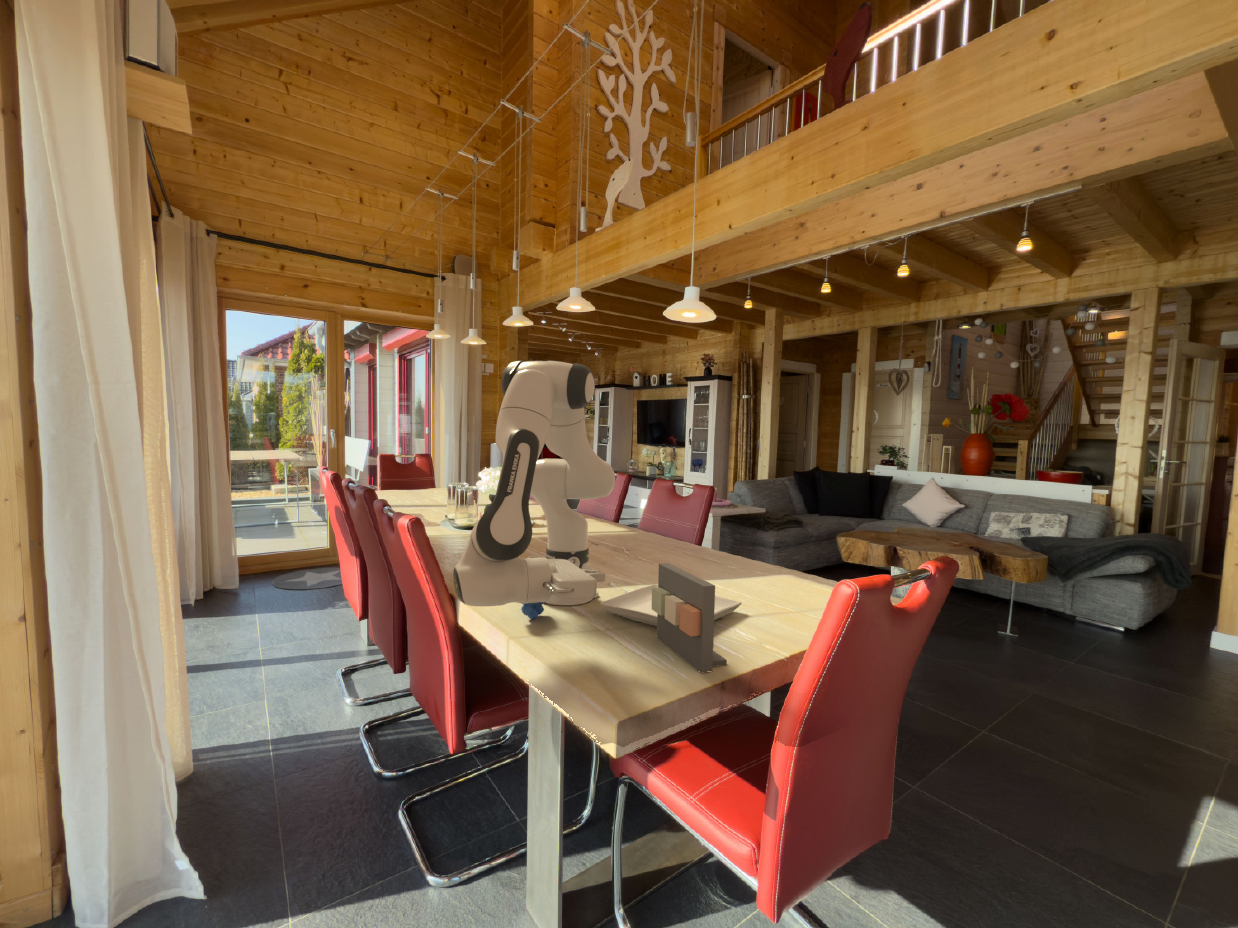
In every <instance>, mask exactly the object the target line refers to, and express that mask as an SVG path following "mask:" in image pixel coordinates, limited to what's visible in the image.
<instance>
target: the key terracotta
mask: <svg viewBox="0 0 1238 928" xmlns="http://www.w3.org/2000/svg"><path fill="white" fill-rule="evenodd" d="M679 629H681V630H682V631H683V632H685V633H686V634H688V635H689V636H699V635H701V610H700V609H699V608H697V607H695V606H694V605H692V604H684V605H680V615H679Z"/></svg>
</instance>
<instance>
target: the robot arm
mask: <svg viewBox="0 0 1238 928" xmlns="http://www.w3.org/2000/svg"><path fill="white" fill-rule="evenodd" d="M500 381H501V383H500V384H501V385H500V386H501V392H502V395H503V396H504V397H503V399H502V402H501V406H500V408H499V413H498V416H497V421H496V426H495V427H496V428H495V444H496V447H497V448H498V449H499V450H500V452H501V453H502V464H501V469H500V474H499V477H498V482H497V487H496V490H495V495H494V498H493V501H492V502H491V504H490V506H489V507H488V508H487V509H486V511H484V513H483V514H482V516H481V517H480V518H479V520H478V521H477V522H476V523H475V525H474V526H473V528H472V529H471V531H470V532H471V533H470V537H469V538H468V539H469V540H468V541H467V542H468V543H467V545H466V547H465V549H464V552H463V554H462V556H461V557H460V559H459V561H458V562H457V564H456V565H455V566H454V568H453V570H452V571H453V573H452V577H453V584H454V589H455V594H456V597H457V598H458V599H459V601H460V602H461V603H463V605H466V606H469V607H498V606H499V607H500V606H504V605H507V604H512V603H517V604H522V605H523V604H525V603H538V602H545V603H544V604H549V605H554V606H555V605H556V606H574V605H575V606H576V605H577V606H578V605H582V604H586V603H588V602H591V601H592V600H593V599H594V598H597V597H599V594H600V593H599V591H597V583H599V582H600V583H603V582H605V581H606V574H605V572H603V571H601V570H599V569H597V570H595V569H594V568H593V566H592V565H591V564H590V563H589V561H590V559H589V557H590V549H589V547H588V535H589V534H588V533H589V532H588V531H589V530H588V529H589V528H588V527H589V526H588V521H587V519H586V517H585V516H583V515H582V514H581V513H580V512H577V511H576V510H574V509H572V508H571V507H570V506H569V504H568V502H567V500H570V499H571V500H596V499H601V498H607V497H608V496H610V495H611V493H612V492H613V490H614V489H615V486H616V485H615V484H616V474H615V471H614V468H613V467H612V466H611V464H610V463H608V462H607V461H605V460H603V459H602V458H601V457H600V456H599V455H597V453H596V452H595V451H594V450H593V448H592V446H591V444H590V442H589V439H588V434H587V426H586V415H585V408H586V407H587V406H589V404H590V403H591V402H592V400H593V396H594V393H595V389H596V388H595V385H596V384H595V379H594V374H593V372H592V370H591V369H590V368H589V367H588V366H586V365H584V364H580V363H576V362H575V363H570V362H564V361H559V360H558V361H556V360H530V361H526V360H524V359H523V360H516V361H512V362H510V363H509V364H508V365H507V366H505V368H504V370H503V371H502V374H501V380H500ZM545 445H546V447H547V449H548V450H549V452H551V453H553V454H555V455H557V456H559V457H560V458H540V459H539V457H540V455H541V454H542V451H543V448H544V446H545ZM530 497H532V498H533V499H534V501H536V502H537V503H538V505H539V506H540V508H541V509H542V512H543V514H544V516H545V517H544V518H545V520H546V531H547V533H546V535H547V547H546V549H545V552H544V557H542V556H541V557H539V556H536V555H535V556H528V557H527V558H526V557H525V558H523V557H522V558H520V557H519V556H521V555H522V554H524V553H525V552H526V550H527V549H528V547H530V545H531V541H532V538H533V525H532V520H531V514H530V507H529V505H530V504H529V503H530V499H531V498H530Z"/></svg>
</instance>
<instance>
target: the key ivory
mask: <svg viewBox="0 0 1238 928" xmlns="http://www.w3.org/2000/svg"><path fill="white" fill-rule="evenodd" d="M684 604H685V600H683V599H682V598H680V597H678V596H677V595H671V596H665V619H666V620H668V621H669V622H671V623H672V624H673V625H675V626H676V625H679V615H680V605H684Z"/></svg>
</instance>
